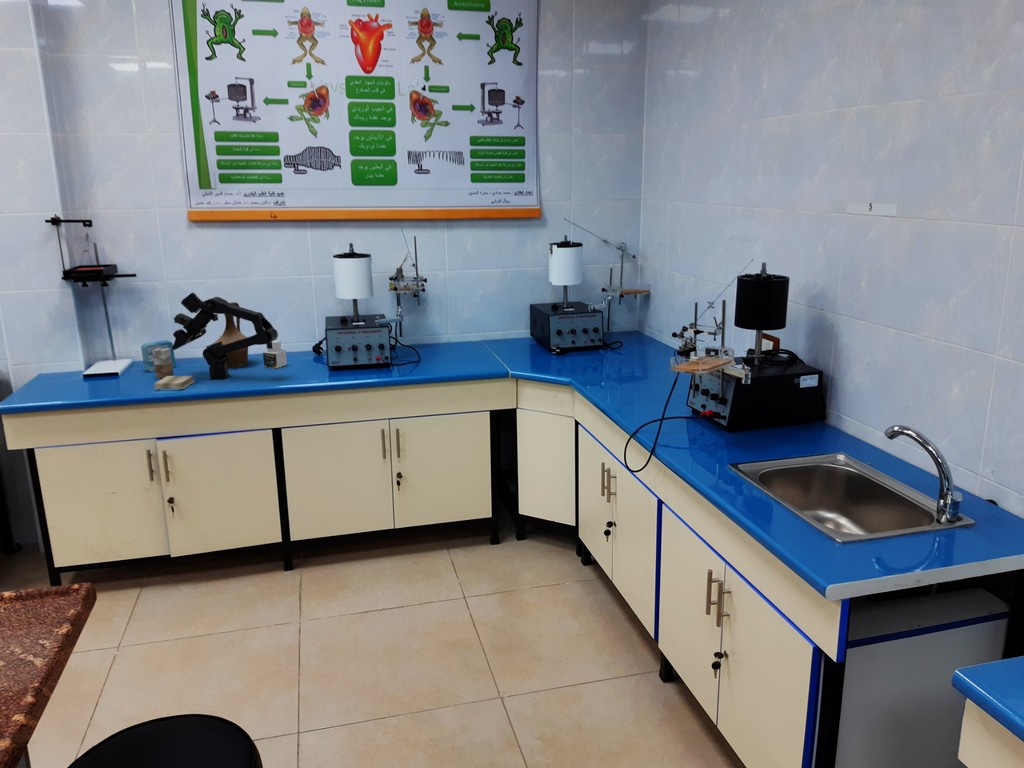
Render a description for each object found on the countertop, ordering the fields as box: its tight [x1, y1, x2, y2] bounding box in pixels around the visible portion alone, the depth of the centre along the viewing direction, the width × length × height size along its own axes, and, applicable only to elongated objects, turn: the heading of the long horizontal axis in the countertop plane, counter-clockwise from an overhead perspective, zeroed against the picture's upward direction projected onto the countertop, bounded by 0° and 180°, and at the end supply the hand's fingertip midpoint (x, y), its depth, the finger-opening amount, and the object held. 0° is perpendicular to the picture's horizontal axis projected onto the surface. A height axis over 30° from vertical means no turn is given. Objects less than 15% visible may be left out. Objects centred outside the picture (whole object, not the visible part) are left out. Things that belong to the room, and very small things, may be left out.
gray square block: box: [152, 348, 174, 378], centre depth 324 cm, size 5×5×12 cm
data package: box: [140, 339, 176, 373], centre depth 336 cm, size 12×4×12 cm, turn 135°
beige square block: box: [153, 375, 195, 391], centre depth 310 cm, size 11×11×3 cm
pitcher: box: [213, 302, 249, 369], centre depth 340 cm, size 18×17×28 cm
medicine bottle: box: [262, 338, 288, 369], centre depth 339 cm, size 7×7×12 cm
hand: (178, 346), depth 321 cm, fingers open, 9 cm apart
